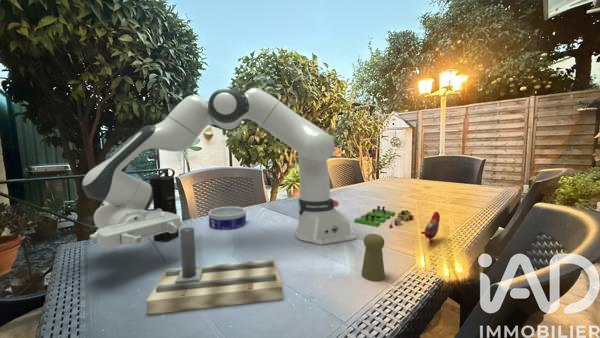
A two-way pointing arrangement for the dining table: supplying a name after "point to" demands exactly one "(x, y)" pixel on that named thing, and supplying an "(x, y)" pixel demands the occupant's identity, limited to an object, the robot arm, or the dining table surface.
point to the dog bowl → (227, 218)
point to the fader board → (217, 287)
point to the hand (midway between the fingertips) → (157, 234)
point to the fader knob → (188, 258)
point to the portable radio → (164, 200)
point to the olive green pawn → (373, 258)
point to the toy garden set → (382, 217)
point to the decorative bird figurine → (432, 227)
